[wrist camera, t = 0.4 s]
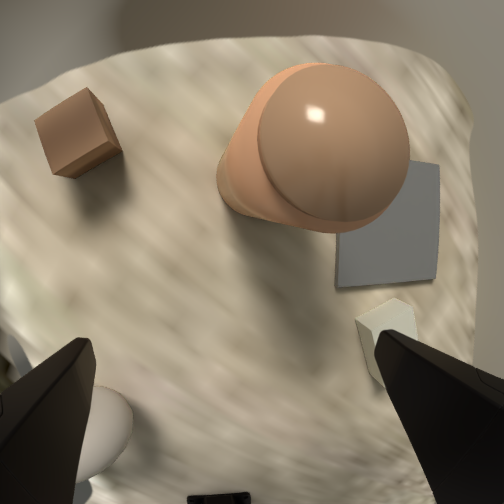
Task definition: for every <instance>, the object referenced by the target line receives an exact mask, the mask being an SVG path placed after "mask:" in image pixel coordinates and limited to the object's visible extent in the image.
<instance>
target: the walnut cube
mask: <svg viewBox="0 0 504 504" xmlns="http://www.w3.org/2000/svg"><path fill="white" fill-rule="evenodd" d="M34 122H35V125H36V128H37V131H38V134H39V137H40V140H41V143H42V146H43V149H44V152H45V155H46V157H47V160H48V163H49V166H50V168H51V171H52V174H53V175H58V176H63V177H68V178H73V179H76V178H77V177H79V176H81V175H82V174H84V173H86V172H87V171H89V170H91V169H92V168H94V167H96V166H97V165H99V164H101V163H103V162H104V161H106V160H108V159H110V158H111V157H113V156H115V155H117V154H119V153H121V152H122V148H121V146H120V144H119V141H118V139H117V137H116V134H115V132H114V130H113V127H112V125H111V122H110V120H109V118H108V115H107V113H106V110H105V108H104V105H103V104H102V103H101V102H100V101H99V100H98V99H97V97H96V96H95V95H94V94H93V93H92V92H91V91H90V90H89V89H88V88H87V87H86V88H84V89H83V90H81V91H79V92H78V93H76V94H74V95H73V96H71V97H69V98H68V99H66V100H64V101H63V102H61V103H60V104H58V105H57V106H55V107H53V108H52V109H50V110H49V111H47V112H46V113H44V114H43V115H41V116H40V117H39V118H37V119H36V120H34Z"/></svg>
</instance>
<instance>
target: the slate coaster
mask: <svg viewBox="0 0 504 504" xmlns="http://www.w3.org/2000/svg"><path fill="white" fill-rule="evenodd" d="M439 223H440V170H439V165H437V164H431V163H425V162H419V161H412V160H409V167H408V172H407V176H406V178H405V181H404V184H403V186H402V188H401V189H400V191H399V193H398V194H397V196H396V197H395V199H394V200H393V201H392V203H391V204H390V205H389V207H388V208H387V209H386V210H385V211H384V212H383V213H382V214H381V215H380V216H379V217H378V218H377V219H375V220H374V221H373V222H371V223H369V224H368V225H366V226H364V227H362V228H359V229H356V230H353V231H349V232H345V233H336V265H335V286H336V287H350V286H363V285H375V284H386V283H397V282H407V281H418V280H427V279H436V271H437V259H438V245H439Z"/></svg>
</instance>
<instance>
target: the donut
mask: <svg viewBox="0 0 504 504" xmlns="http://www.w3.org/2000/svg"><path fill="white" fill-rule="evenodd" d="M132 431H133V412H132V410H131V408H130V406H129V404H128V403H127V401H126V400H125V398H124V397H123V396H122V395H121V394H120V393H118V392H116V391H115V390H112V389H110V388H107V387H103V386H93V393H92V401H91V409H90V414H89V418H88V423H87V427H86V432H85V436H84V441H83V446H82V451H81V456H80V461H79V466H78V472H77V478H76V483H79V482H82V481H85V480H87V479H89V478H91V477H93V476H95V475H97V474H99V473H101V472H102V471H103V470H105V469H106V468H107V467H108V466H109V465H111V464H112V463H113V462H114V461H115V460H116V459H117V458H118V457H119V455H120V454H121V453H122V452H123V450H124V449H125V448H126V446H127V444H128V441H129V439H130V437H131V434H132Z"/></svg>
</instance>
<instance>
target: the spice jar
mask: <svg viewBox="0 0 504 504" xmlns="http://www.w3.org/2000/svg"><path fill="white" fill-rule="evenodd" d="M409 160H410V145H409V137H408V133H407V129H406V126H405V123H404V120H403V118H402V115H401V113H400V111H399V109H398V108H397V106H396V104H395V103H394V101H393V100H392V99H391V97H390V96H389V95H388V94H387V93H386V92H385V90H384V89H383V88H382V87H381V86H379V85H378V84H377V83H376V82H375V81H373V80H372V79H370V78H369V77H368V76H366V75H364V74H362V73H360V72H358V71H356V70H353V69H351V68H348V67H344V66H340V65H332V64H325V63H306V64H300V65H296V66H293V67H290V68H287V69H285V70H283V71H281V72H279V73H278V74H276V75H275V76H273V77H272V78H271V79H269V80H268V81H267V82H266V83H265V84H264V85H263V86H262V87H261V89H260V90H259V91H258V93H257V94H256V95H255V97H254V99H253V101H252V102H251V104H250V106H249V108H248V110H247V111H246V113H245V115H244V117H243V118H242V120H241V122H240V124H239V126H238V128H237V129H236V131H235V133H234V135H233V137H232V139H231V140H230V142H229V144H228V146H227V148H226V150H225V152H224V154H223V155H222V157H221V159H220V161H219V164H218V167H217V174H216V179H217V186H218V189H219V192H220V194H221V196H222V198H223V199H224V201H225V202H226V203H227V204H228V206H230V207H231V208H232V209H233V210H235V211H236V212H238V213H240V214H243V215H246V216H250V217H254V218H259V219H263V220H268V221H272V222H277V223H281V224H286V225H290V226H295V227H299V228H303V229H308V230H312V231H317V232H322V233H345V232H349V231H353V230H356V229H359V228H362V227H364V226H366V225H368V224H369V223H371V222H373V221H374V220H375V219H377V218H378V217H379V216H380V215H381V214H382V213H383V212H384V211H385V210H386V209H387V208H388V207H389V205H390V204H391V203H392V201H393V200H394V199H395V197H396V196H397V194H398V193H399V191H400V189H401V188H402V186H403V184H404V181H405V178H406V176H407V172H408V167H409Z"/></svg>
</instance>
